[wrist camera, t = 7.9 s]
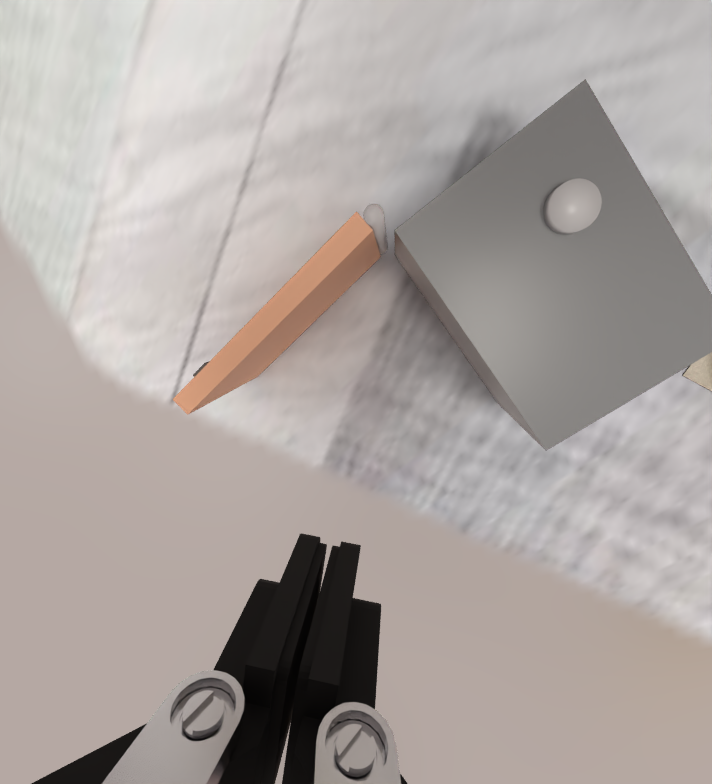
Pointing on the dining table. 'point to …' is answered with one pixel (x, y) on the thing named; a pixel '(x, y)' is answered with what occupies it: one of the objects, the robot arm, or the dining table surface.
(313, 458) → the dining table surface
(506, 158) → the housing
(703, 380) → the condiment
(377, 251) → the door
